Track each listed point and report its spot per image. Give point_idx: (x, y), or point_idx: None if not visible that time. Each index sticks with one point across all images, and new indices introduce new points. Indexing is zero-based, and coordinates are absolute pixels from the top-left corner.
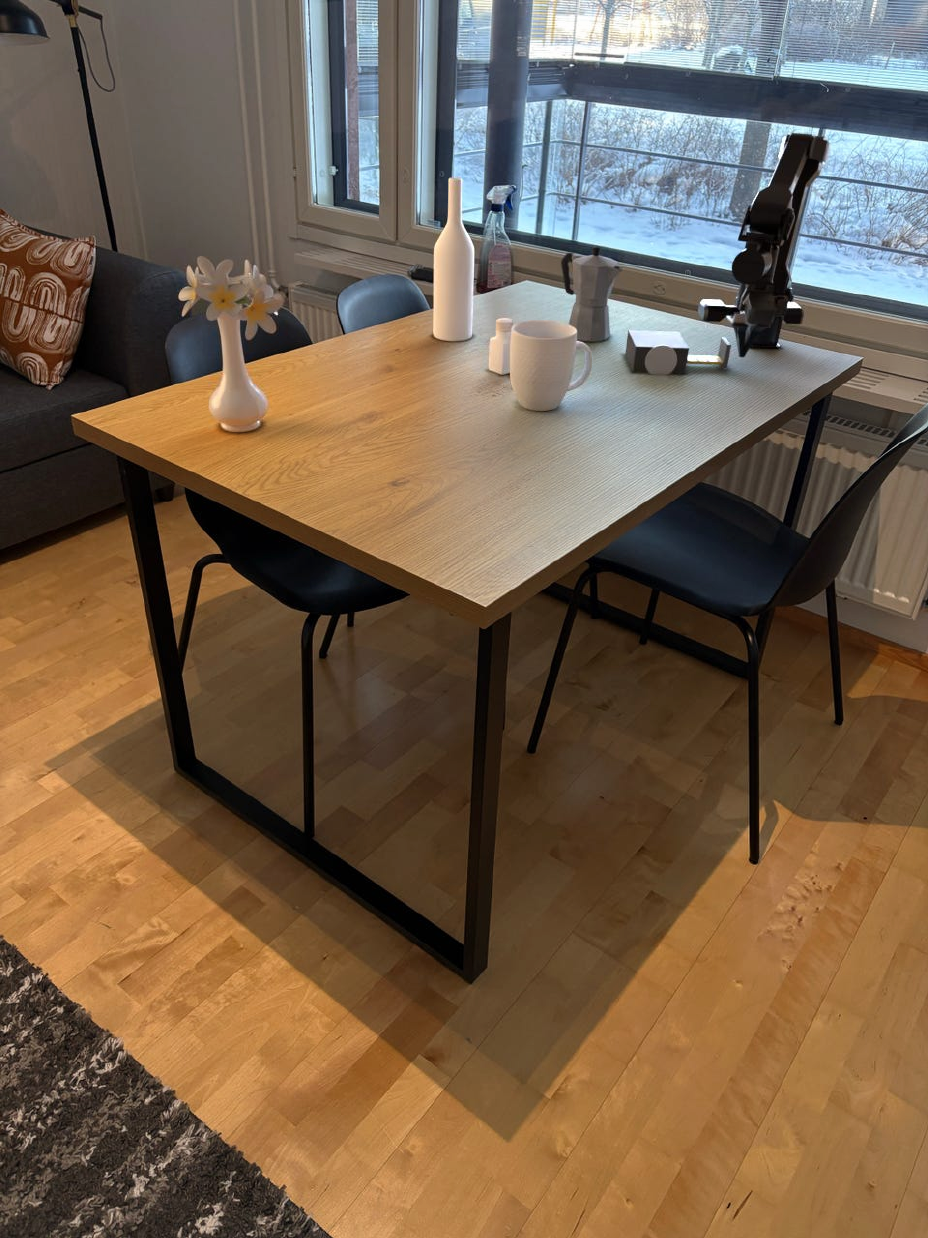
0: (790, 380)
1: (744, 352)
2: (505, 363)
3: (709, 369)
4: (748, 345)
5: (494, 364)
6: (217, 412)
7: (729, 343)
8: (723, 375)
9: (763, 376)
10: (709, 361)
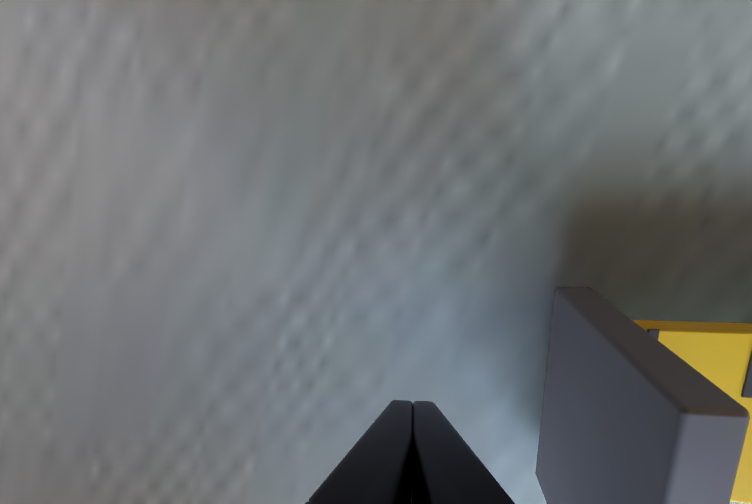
0: (68, 76)
1: (401, 419)
2: None
3: (686, 303)
4: (369, 466)
5: None
6: None
7: (679, 473)
8: (617, 153)
9: (270, 160)
10: (747, 337)
